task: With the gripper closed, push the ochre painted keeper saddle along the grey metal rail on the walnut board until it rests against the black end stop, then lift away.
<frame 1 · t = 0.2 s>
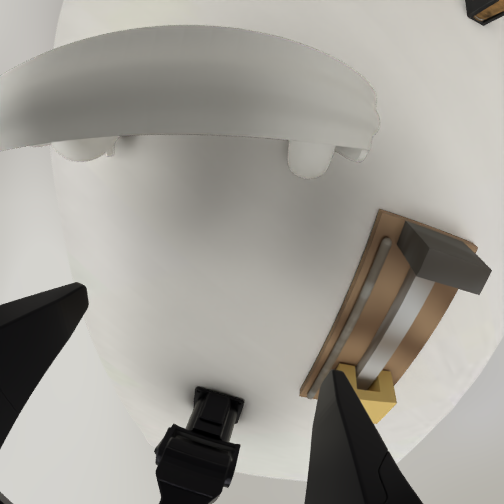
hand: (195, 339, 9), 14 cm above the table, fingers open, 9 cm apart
keeper: (359, 395, 24), point 3 cm above the table, slide at 0.0 cm
headset: (210, 114, 19), on the table
rail board: (381, 331, 24), on the table
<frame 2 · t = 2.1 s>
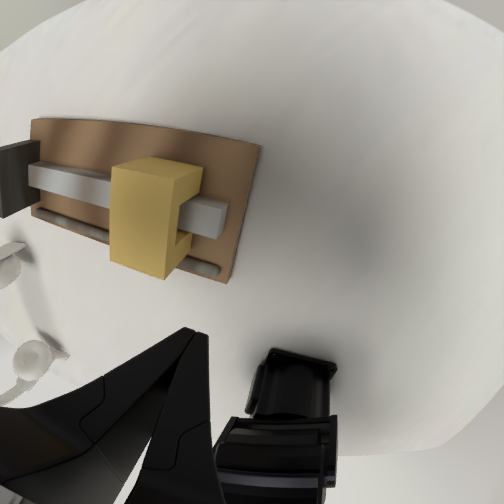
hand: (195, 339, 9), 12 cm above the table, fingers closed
keeper: (154, 213, 17), point 3 cm above the table, slide at 0.0 cm
headset: (38, 300, 30), on the table
rail board: (112, 183, 20), on the table
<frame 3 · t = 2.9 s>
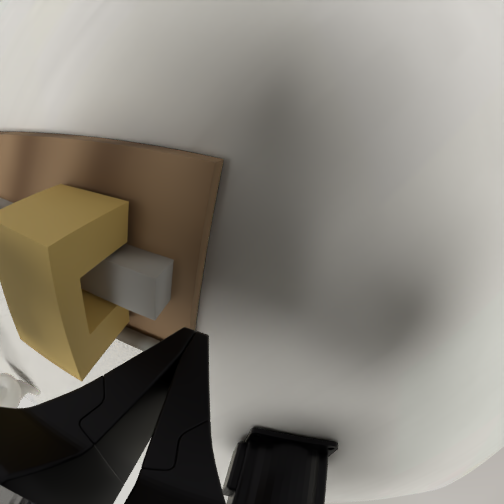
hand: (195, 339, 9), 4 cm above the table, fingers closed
keeper: (62, 278, 9), point 3 cm above the table, slide at 0.0 cm
headset: (1, 333, 23), on the table
rail board: (36, 217, 13), on the table
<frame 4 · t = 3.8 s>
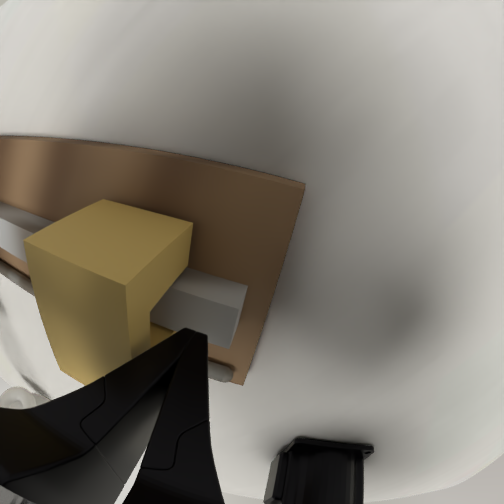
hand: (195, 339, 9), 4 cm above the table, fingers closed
keeper: (114, 305, 9), point 3 cm above the table, slide at 0.3 cm, touching gripper
headset: (15, 347, 22), on the table
rail board: (68, 233, 13), on the table
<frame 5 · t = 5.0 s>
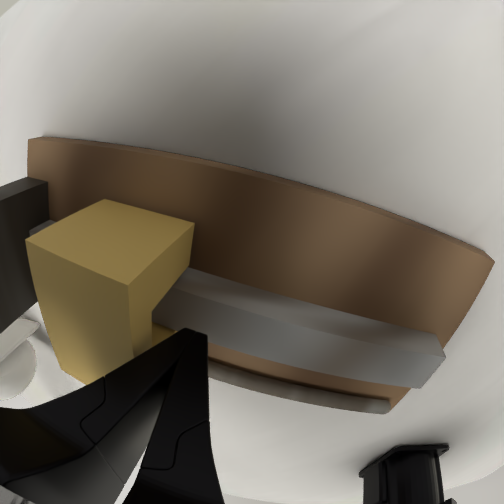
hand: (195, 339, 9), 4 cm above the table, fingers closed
keeper: (115, 305, 9), point 3 cm above the table, slide at 8.8 cm, touching gripper
headset: (61, 381, 22), on the table
rail board: (214, 282, 12), on the table
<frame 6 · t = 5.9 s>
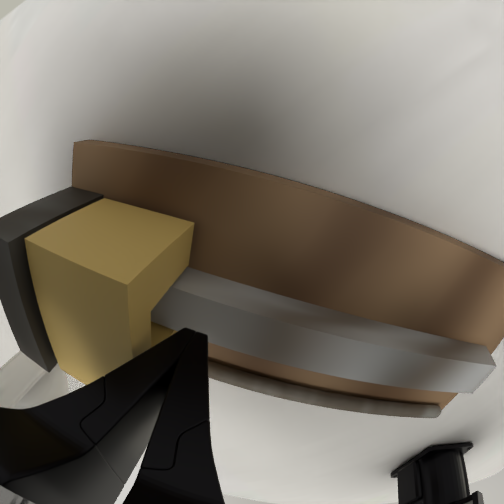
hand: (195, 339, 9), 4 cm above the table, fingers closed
keeper: (114, 305, 9), point 3 cm above the table, slide at 12.7 cm, touching gripper
headset: (88, 398, 22), on the table
rail board: (302, 308, 12), on the table
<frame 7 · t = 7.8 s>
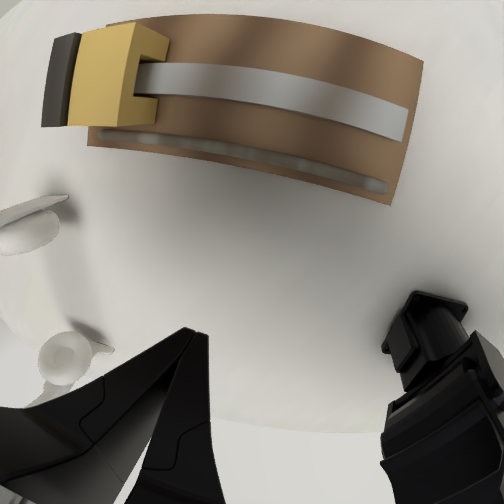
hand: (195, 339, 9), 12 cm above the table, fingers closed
keeper: (117, 77, 13), point 3 cm above the table, slide at 12.8 cm
headset: (75, 276, 25), on the table
rail board: (237, 87, 15), on the table
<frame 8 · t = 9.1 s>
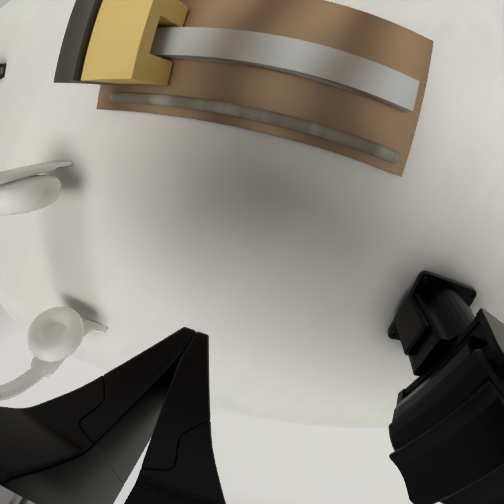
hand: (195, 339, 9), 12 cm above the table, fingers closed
keeper: (135, 38, 12), point 3 cm above the table, slide at 12.8 cm
headset: (72, 248, 24), on the table
rail board: (252, 55, 15), on the table
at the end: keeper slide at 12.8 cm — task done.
